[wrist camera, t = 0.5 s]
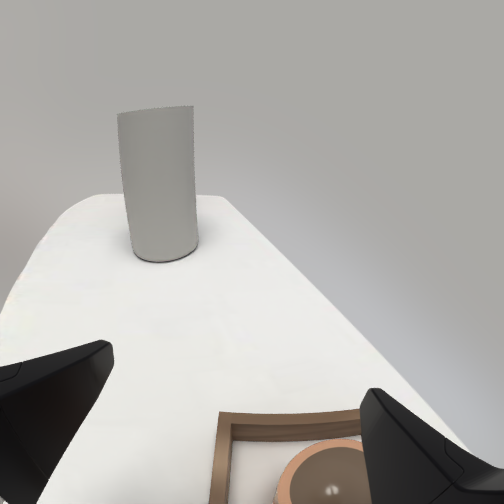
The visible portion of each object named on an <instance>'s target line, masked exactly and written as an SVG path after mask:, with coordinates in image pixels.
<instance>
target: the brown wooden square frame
mask: <svg viewBox="0 0 504 504" xmlns="http://www.w3.org/2000/svg"><path fill="white" fill-rule="evenodd" d="M359 410H360V409H353V410H344V411H334V412H321V413H302V414H250V413H231V412H219V417H218V426H217V434H216V443H215V452H214V461H213V470H212V479H211V489H210V498H209V504H228V494H229V481H230V468H231V455H232V442H233V440H236V441H262V442H281V441H307V440H321V439H332V438H341V437H349V436H356V435H361V423H360V411H359Z"/></svg>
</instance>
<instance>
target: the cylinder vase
mask: <svg viewBox="0 0 504 504" xmlns="http://www.w3.org/2000/svg"><path fill="white" fill-rule="evenodd" d="M117 121H118V139H119V153H120V163H121V174H122V181H123V191H124V198H125V205H126V212H127V218H128V224H129V230H130V236H131V241H132V247H133V251H134V252H135V254H136V255H137V256H138V257H140V258H142V259H144V260H148V261H154V262H163V261H171V260H175V259H178V258H181V257H183V256H185V255H187V254H189V253H190V252H192V251H193V250H194V249H195V247H196V246H197V243H198V230H197V214H196V195H195V171H194V134H193V133H194V132H193V106H178V107H164V108H154V109H145V110H138V111H131V112H125V113H119V114H117Z"/></svg>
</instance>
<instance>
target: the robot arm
mask: <svg viewBox="0 0 504 504" xmlns="http://www.w3.org/2000/svg"><path fill="white" fill-rule="evenodd" d="M113 366H114V355H113V347H112V344H111V343H110V342H107V341H105V340H98V341H95V342H91V343H88V344H84V345H81V346H78V347H74V348H71V349H67V350H64V351H60V352H56V353H53V354H49V355H46V356H42V357H38V358H34V359H31V360H27V361H23V363H22V362H19V363H15V364H11V365H7V366H2V367H0V504H3V502H4V501H6V502H7V503H8V504H36V503H37V501H38V499H39V497H40V495H41V494H42V492H43V490H44V488H45V486H46V484H47V482H48V481H49V480H48V479H50V477H51V475H52V473H53V471H54V470H55V468H56V466H57V464H58V463H59V461H60V459H61V457H62V456H63V454H64V452H65V451H66V449H67V447H68V446H69V444H70V442H71V441H72V439H73V437H74V436H75V434H76V432H77V431H78V429H79V427H80V426H81V424H82V423H83V421H84V419H85V418H86V416H87V415H88V413H89V411H90V410H91V408H92V407H93V405H94V404H95V402H96V400H97V399H98V397H99V395H100V393H101V391H102V389H103V387H104V385H105V383H106V381H107V379H108V377H109V375H110V373H111V371H112V369H113ZM359 411H360V423H361V437H362V447H363V453H364V458H365V464H366V470H367V476H368V482H369V488H370V495H371V502H372V504H504V469H500V468H496V467H494V466H492V465H490V464H488V463H486V462H484V461H483V460H481V459H479V458H477V457H475V456H474V455H472V454H470V453H469V452H467V451H465V450H464V449H462V448H460V447H459V446H457V445H456V444H454V443H453V442H452V441H450V440H449V439H448V438H445V436H443V435H442V434H441V433H439V432H438V431H436V430H435V429H434V428H432V427H431V426H430V425H428V424H427V423H426V422H424V421H423V420H422V419H420V418H419V417H418V416H416V415H415V414H414V413H412V412H411V411H410V410H408V409H407V408H406V407H404V406H403V405H402V404H400V403H399V402H398V401H396V400H395V399H394V398H392V397H391V396H390V395H388V394H387V393H386V392H385V391H383V390H382V389H381V388H370V389H369V390H368V391H367V393H366V395H365V397H364V399H363V401H362V403H361V405H360V410H359Z"/></svg>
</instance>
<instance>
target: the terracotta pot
mask: <svg viewBox="0 0 504 504" xmlns="http://www.w3.org/2000/svg"><path fill="white" fill-rule="evenodd" d="M273 504H372V502H371V495H370V488H369V482H368V476H367V470H366V464H365V458H364V453H363V447H362V442H358V441H355V440H349V439H332V440H326V441H323V442H319V443H316V444H314V445H312V446H310V447H308V448H306V449H304V450H303V451H301V452H300V453H299V454H298V455H296V456H295V457H294V458H293V459H292V460H291V461H290V463H289V464H288V465H287V467H286V468H285V470H284V472H283V474H282V475H281V477H280V480H279V482H278V486H277V491H276V494H275V497H274V500H273Z"/></svg>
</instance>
